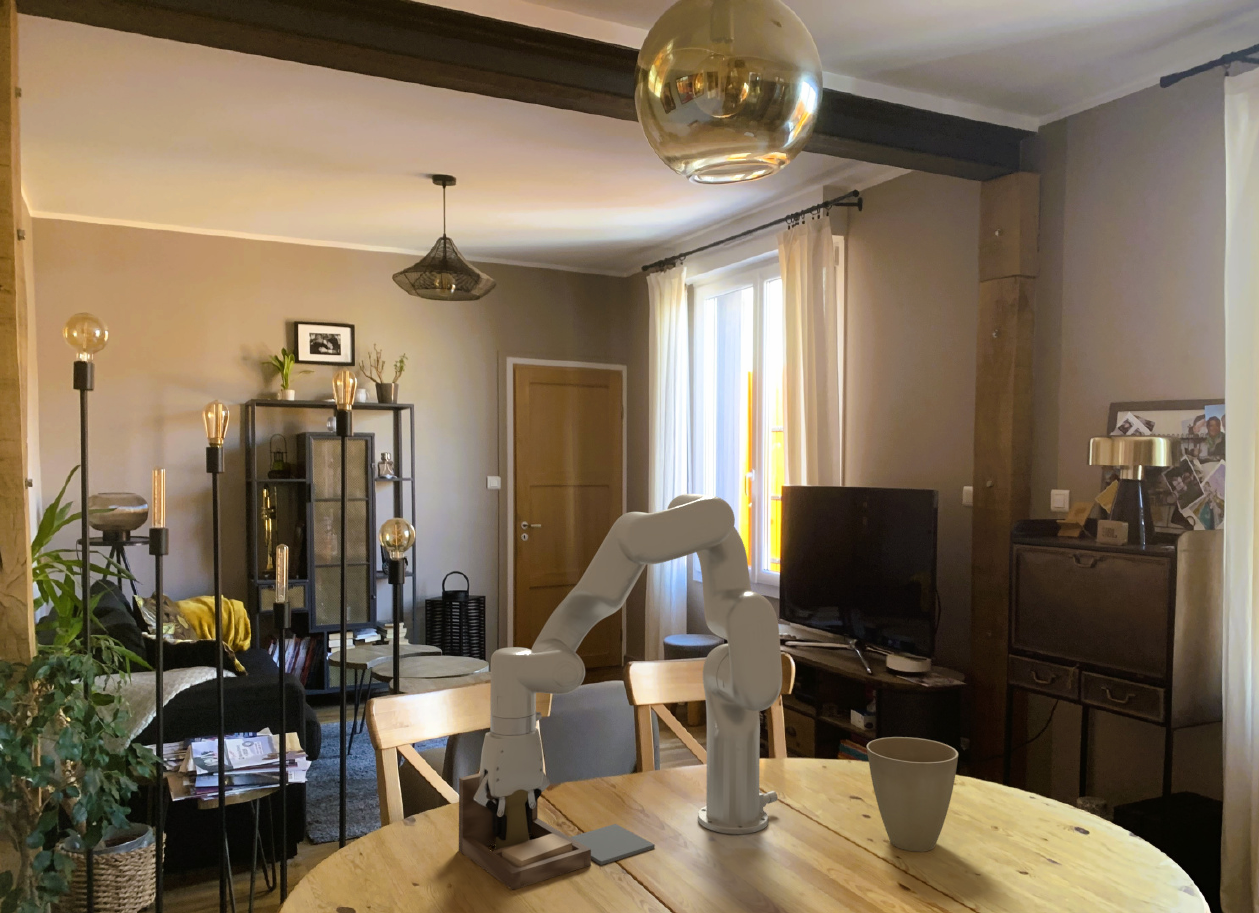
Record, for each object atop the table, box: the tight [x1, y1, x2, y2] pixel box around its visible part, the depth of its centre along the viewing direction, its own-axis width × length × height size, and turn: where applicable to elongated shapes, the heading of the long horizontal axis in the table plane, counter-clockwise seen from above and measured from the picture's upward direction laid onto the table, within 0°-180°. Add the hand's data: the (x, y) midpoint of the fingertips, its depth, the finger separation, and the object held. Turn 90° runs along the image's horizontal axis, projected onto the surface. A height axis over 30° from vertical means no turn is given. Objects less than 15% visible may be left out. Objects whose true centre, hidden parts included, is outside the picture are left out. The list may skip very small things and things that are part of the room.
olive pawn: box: [493, 789, 530, 851], centre depth 151 cm, size 6×6×11 cm
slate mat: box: [570, 823, 656, 866], centre depth 153 cm, size 11×11×1 cm
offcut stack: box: [502, 833, 572, 868], centre depth 145 cm, size 10×5×4 cm, turn 133°
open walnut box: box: [458, 772, 592, 891], centre depth 148 cm, size 14×18×12 cm
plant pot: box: [866, 736, 959, 853], centre depth 155 cm, size 15×15×16 cm
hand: (512, 833), depth 151 cm, fingers closed on olive pawn, 4 cm apart
